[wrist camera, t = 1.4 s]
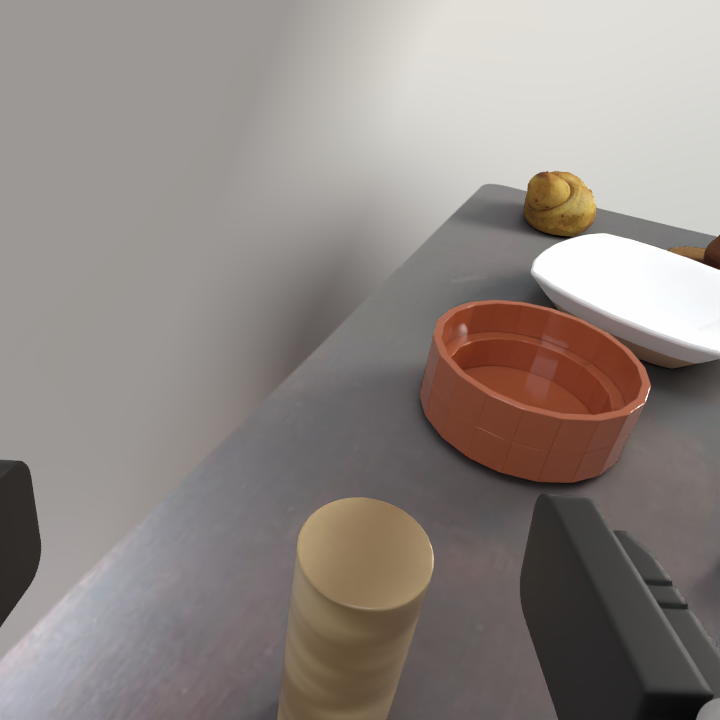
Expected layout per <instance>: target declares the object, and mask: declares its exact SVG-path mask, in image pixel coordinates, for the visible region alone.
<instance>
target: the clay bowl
mask: <svg viewBox="0 0 720 720" xmlns="http://www.w3.org/2000/svg"><path fill="white" fill-rule="evenodd" d="M650 388H651V384H650V381H649V378H648V375H647V372H646V369H645V367H644V366H643V365H642V363H641V362H640V361H639V360H638V359H637V357H636V356H635V355H634V354H633V353H632V351H631V350H630V349H629V348H627V347H626V346H625V345H623V344H622V343H621V342H619V341H618V340H617V339H615V338H614V337H613V336H611V335H610V334H608V333H607V332H605V331H603V330H601V329H599V328H598V327H596V326H594V325H592V324H590V323H588V322H586V321H584V320H582V319H580V318H577V317H574V316H572V315H569V314H566V313H563V312H560V311H558V310H555V309H551V308H547V307H543V306H538V305H534V304H529V303H525V302H516V301H503V300H487V301H477V302H468V303H466V304H463V305H460V306H457V307H454V308H451V309H450V310H448V311H447V312H446V313H445V314H444V315H443V316H442V317H441V318H440V319H438V320H437V323H436V327H435V331H434V335H433V339H432V343H431V348H430V352H429V356H428V360H427V365H426V369H425V373H424V378H423V382H422V386H421V390H420V399H421V402H422V406H423V409H424V413H425V415H426V417H427V419H428V420H429V421H430V423H431V424H432V425H433V427H434V428H435V429H436V431H437V432H438V433H439V434H440V436H441V437H442V438H443V439H445V440H446V441H447V442H448V443H450V444H451V445H452V446H454V447H455V448H456V449H458V450H459V451H460V452H462V453H463V454H464V455H465V456H467V457H468V458H470V459H472V460H474V461H476V462H479V463H481V464H483V465H485V466H487V467H489V468H491V469H493V470H495V471H498V472H500V473H504V474H508V475H512V476H516V477H520V478H524V479H527V480H531V481H535V482H536V481H537V482H556V483H573V482H577V481H581V480H585V479H589V478H593V477H597V476H599V475H601V474H602V473H603V472H605V471H606V470H607V469H608V468H610V467H611V466H612V465H613V464H615V463H616V462H617V460H618V458H619V456H620V454H621V452H622V450H623V448H624V446H625V444H626V442H627V440H628V438H629V436H630V433H631V432H632V430H633V428H634V426H635V424H636V422H637V420H638V417H639V415H640V413H641V411H642V409H643V407H644V405H645V403H646V401H647V398H648V394H649V391H650Z"/></svg>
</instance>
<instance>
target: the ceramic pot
mask: <svg viewBox="0 0 720 720" xmlns="http://www.w3.org/2000/svg"><path fill="white" fill-rule="evenodd" d="M667 251H668V252H671V253H674V254H677V255H680V256H683V257H686V258H689V259H692V260H694V261H697V262H699V263H702V264H704V265H707V266H710V267H712V268H715V269H717V270H720V235H719V236H718V237H717V238H716V239H715V240H713V241H712V242H711V243H710V244H709V245H708V246H707V248H703V249H701V248H697V247H679V248H675V247H673V248H671V250H667Z"/></svg>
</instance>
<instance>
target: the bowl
mask: <svg viewBox="0 0 720 720" xmlns="http://www.w3.org/2000/svg"><path fill="white" fill-rule="evenodd" d="M531 275H532V276H533V277H534V279H535V280H536V281H537V283H538V284H539V285H540V287H541V288H542V289H543V291H544V292H545V293H546V295H547V296H548V297H549V299H550V300H551V301H552V302H553V303H554V305H555V306H556V308H557V309H558V310H559V311H560V312H563V313H566V314H569V315H572V316H574V317H577V318H580V319H582V320H584V321H586V322H588V323H590V324H592V325H594V326H596V327H598V328H599V329H601V330H603V331H605V332H607V333H608V334H610V335H611V336H613V337H614V338H615V339H617V340H618V341H619V342H621V343H622V344H623V345H625V346H626V347H627V348H629V349H630V350H631V351H632V353H633V354H634V355H635V356H636V357H637V358H638V359H641V360H644V361H646V362H649V363H652V364H655V365H658V366H662V367H666V368H678V367H682V366H687V365H692V364H696V363H703V362H708V361H713V360H717V359H720V270H717V269H715V268H712V267H710V266H707V265H704V264H702V263H699V262H697V261H694V260H692V259H689V258H686V257H683V256H680V255H677V254H674V253H671V252H668V251H665V250H662V249H660V248H657V247H653V246H650V245H647V244H644V243H640V242H637V241H634V240H630V239H626V238H622V237H618V236H614V235H609V234H591V235H584V236H580V237H576V238H572V239H569V240H566V241H563V242H560V243H557V244H555V245H553V246H552V247H550V248H549V249H547V250H545V251H544V252H543V253H542V254H540V255H539V256H538V257H537V258H536V259H535V260H534V262H533V265H532V269H531Z"/></svg>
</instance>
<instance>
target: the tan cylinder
mask: <svg viewBox="0 0 720 720" xmlns="http://www.w3.org/2000/svg"><path fill="white" fill-rule="evenodd" d="M433 569H434V554H433V550H432V546H431V543H430V541H429V538H428V536H427V535H426V533H425V531H424V530H423V529H422V527H421V526H420V525H419V524H418V523H417V522H416V520H415V519H413V518H412V517H411V516H410V515H409V514H407V513H406V512H404V511H403V510H401V509H400V508H398V507H396V506H394V505H391V504H389V503H387V502H383V501H380V500H376V499H371V498H360V497H354V498H345V499H340V500H336V501H333V502H331V503H328V504H326V505H324V506H322V507H321V508H319V509H318V510H316V511H315V512H314V513H313V514H312V515H311V516H310V517H309V518H308V519H307V520H306V522H305V523H304V525H303V526H302V528H301V530H300V533H299V536H298V540H297V547H296V556H295V565H294V574H293V583H292V591H291V600H290V609H289V618H288V627H287V635H286V644H285V653H284V662H283V670H282V679H281V688H280V697H279V706H278V714H277V720H387V718H388V714H389V711H390V708H391V705H392V702H393V698H394V695H395V692H396V689H397V686H398V682H399V679H400V676H401V673H402V670H403V666H404V663H405V660H406V657H407V654H408V650H409V647H410V644H411V641H412V638H413V634H414V631H415V628H416V625H417V622H418V618H419V615H420V612H421V609H422V606H423V602H424V599H425V596H426V593H427V590H428V586H429V583H430V580H431V577H432V573H433Z"/></svg>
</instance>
